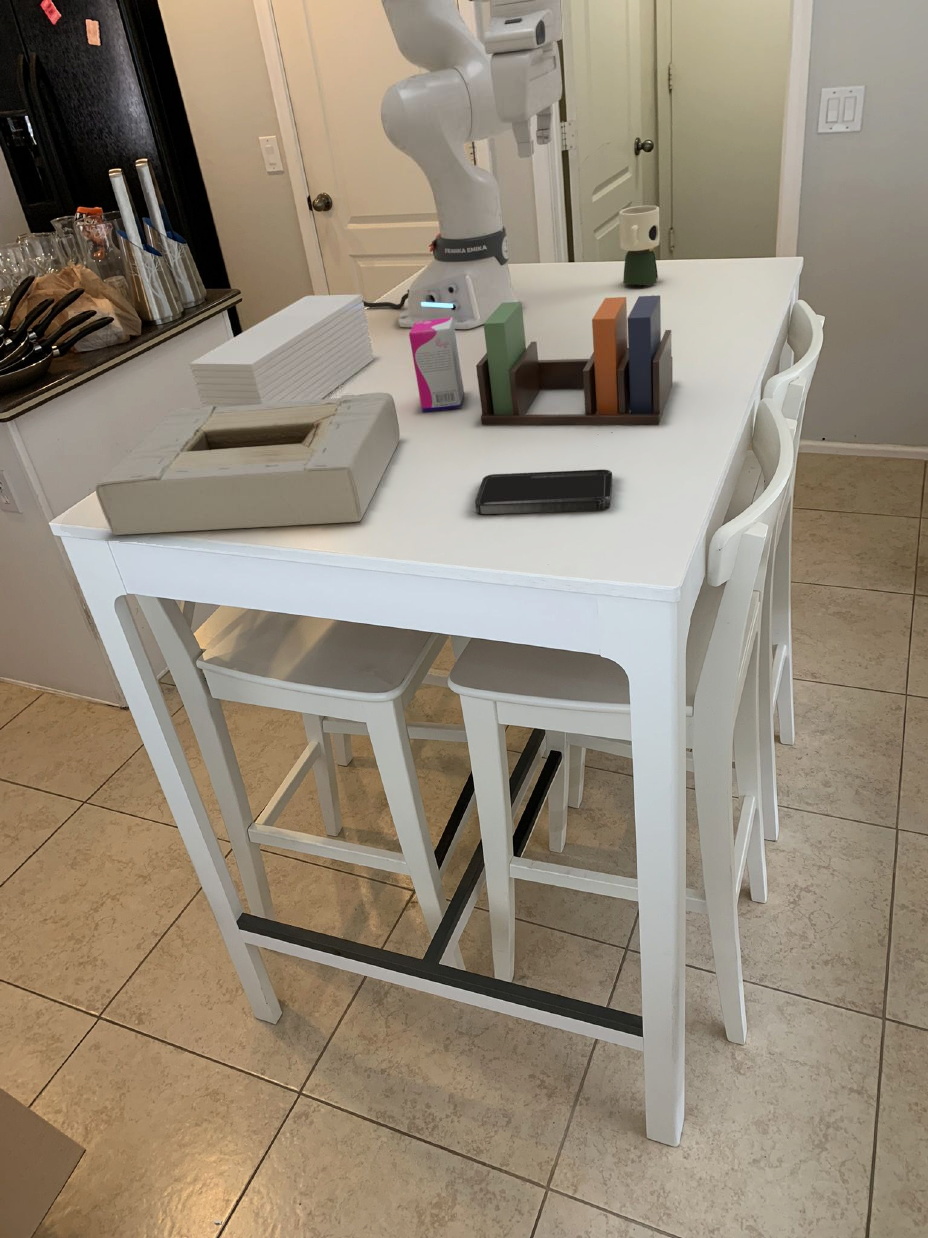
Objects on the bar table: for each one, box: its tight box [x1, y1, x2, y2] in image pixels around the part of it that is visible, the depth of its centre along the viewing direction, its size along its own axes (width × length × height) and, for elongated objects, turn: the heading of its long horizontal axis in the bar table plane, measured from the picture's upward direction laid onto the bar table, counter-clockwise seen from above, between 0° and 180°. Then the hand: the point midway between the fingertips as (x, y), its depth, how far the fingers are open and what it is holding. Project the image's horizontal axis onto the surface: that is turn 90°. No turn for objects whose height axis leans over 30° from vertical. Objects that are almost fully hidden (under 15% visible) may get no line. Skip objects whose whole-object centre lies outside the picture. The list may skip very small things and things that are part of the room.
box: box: [95, 392, 401, 536], centre depth 114 cm, size 23×8×32 cm
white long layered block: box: [188, 294, 375, 407], centre depth 140 cm, size 32×11×11 cm, turn 157°
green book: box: [482, 301, 527, 415], centre depth 124 cm, size 3×9×13 cm, turn 162°
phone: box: [474, 469, 613, 515], centre depth 103 cm, size 8×1×15 cm
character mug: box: [618, 204, 661, 287], centre depth 165 cm, size 11×7×13 cm, turn 159°
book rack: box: [475, 329, 674, 426], centre depth 122 cm, size 24×14×8 cm, turn 72°
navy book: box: [627, 294, 662, 414], centre depth 118 cm, size 3×9×13 cm, turn 162°
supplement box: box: [408, 317, 465, 413], centre depth 128 cm, size 6×6×12 cm
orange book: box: [591, 296, 628, 414], centre depth 119 cm, size 3×9×13 cm, turn 162°
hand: (535, 149), depth 122 cm, fingers open, 8 cm apart
